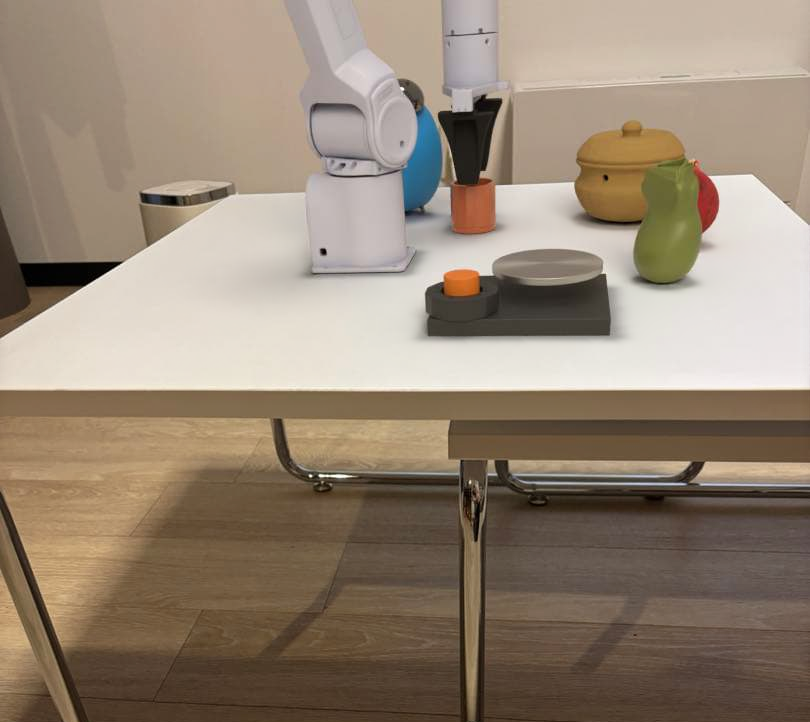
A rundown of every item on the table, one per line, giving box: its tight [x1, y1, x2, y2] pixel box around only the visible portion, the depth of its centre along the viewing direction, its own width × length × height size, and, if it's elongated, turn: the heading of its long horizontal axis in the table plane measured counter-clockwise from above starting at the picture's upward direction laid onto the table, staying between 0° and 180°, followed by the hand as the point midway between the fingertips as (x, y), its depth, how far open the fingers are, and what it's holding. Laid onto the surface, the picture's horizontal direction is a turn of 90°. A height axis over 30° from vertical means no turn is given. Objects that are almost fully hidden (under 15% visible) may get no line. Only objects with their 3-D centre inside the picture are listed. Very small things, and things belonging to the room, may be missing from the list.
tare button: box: [443, 268, 480, 296], centre depth 65 cm, size 3×3×2 cm
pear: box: [632, 157, 703, 284], centre depth 70 cm, size 6×5×10 cm
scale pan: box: [491, 248, 604, 286], centre depth 68 cm, size 9×9×1 cm
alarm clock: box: [397, 77, 444, 215], centre depth 100 cm, size 13×6×15 cm, turn 40°
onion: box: [688, 158, 720, 235], centre depth 80 cm, size 6×6×8 cm
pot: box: [573, 119, 686, 223], centre depth 91 cm, size 12×12×10 cm
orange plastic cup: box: [449, 177, 497, 235], centre depth 93 cm, size 5×5×5 cm
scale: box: [424, 273, 612, 337], centre depth 68 cm, size 14×12×3 cm
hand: (472, 177), depth 91 cm, fingers open, 7 cm apart
